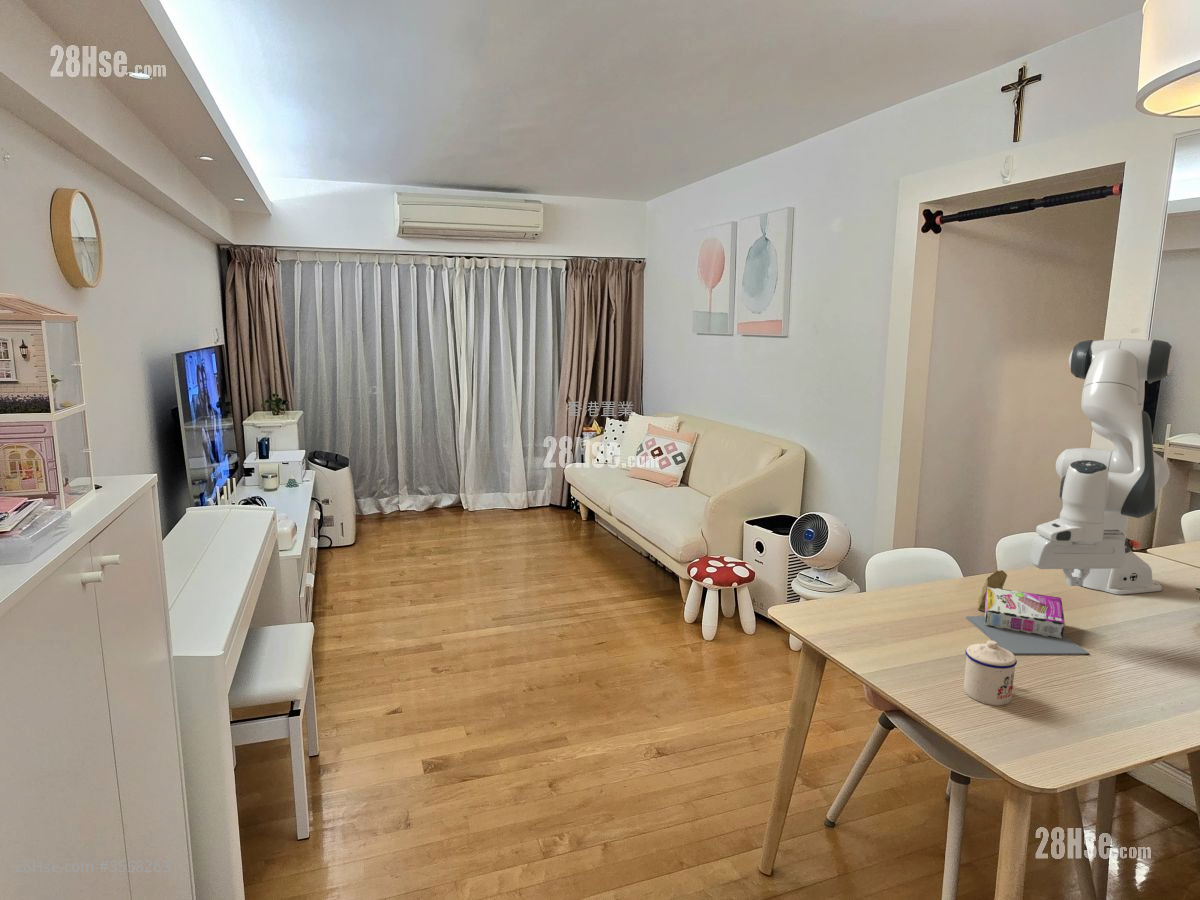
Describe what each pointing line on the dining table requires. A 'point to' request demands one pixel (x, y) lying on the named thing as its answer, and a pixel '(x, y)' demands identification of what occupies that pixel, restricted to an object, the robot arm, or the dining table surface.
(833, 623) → the dining table surface
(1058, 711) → the dining table surface
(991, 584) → the rock
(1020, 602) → the candy bar box
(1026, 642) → the mat
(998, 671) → the teacup with lid
